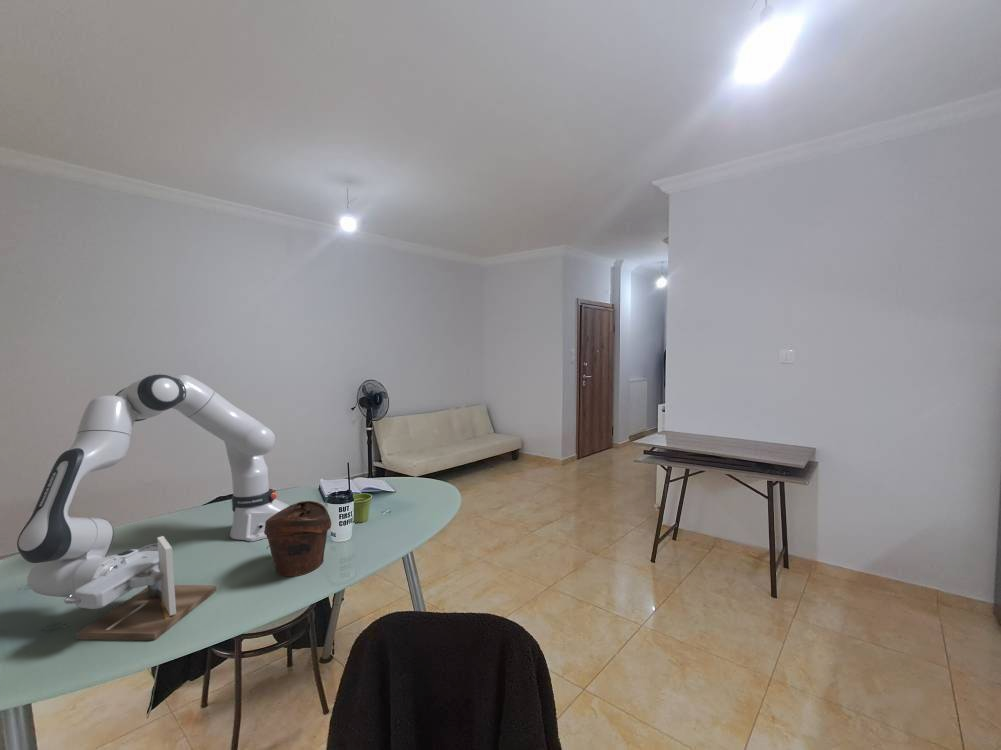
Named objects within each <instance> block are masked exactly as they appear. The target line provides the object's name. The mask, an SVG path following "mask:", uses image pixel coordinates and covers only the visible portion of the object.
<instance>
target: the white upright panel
mask: <svg viewBox="0 0 1001 750" xmlns="http://www.w3.org/2000/svg"><path fill="white" fill-rule="evenodd" d="M156 538H157V540H156V542H158V555H159V570H160V572H162V573H163V578H162V579H161V580H159V581H158V582H156V583H155V584H153V585H147V587H148V596H150V597H157V596H159V597H160V599H161V600H162V602H163V604H164V605H165V607H166V609H167V611H168V613H169V615H170V616H171V615H174V614H176V602H175V587H174V585H175V576H174V575H175V573H174V560H173V559H174V557H173V548H172V547H173V546H172V545H170V543H169V541H168V540H167V539H166V537H165V536H164V535H160V536H158V537H156Z"/></svg>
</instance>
